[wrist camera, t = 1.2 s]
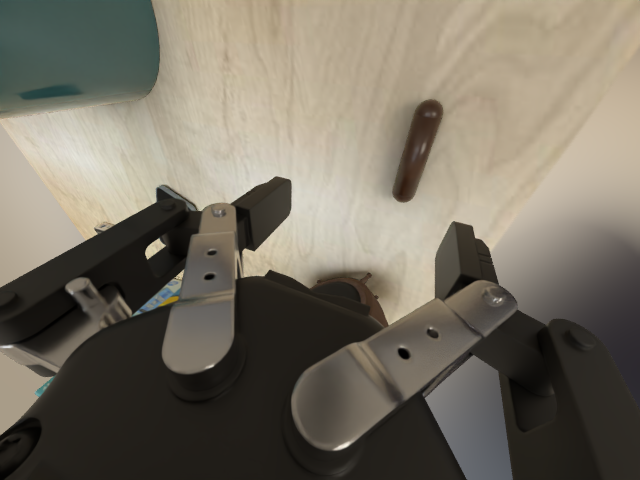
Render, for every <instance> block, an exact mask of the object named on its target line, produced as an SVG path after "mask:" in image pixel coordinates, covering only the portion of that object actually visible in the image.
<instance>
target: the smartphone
mask: <svg viewBox="0 0 640 480" xmlns="http://www.w3.org/2000/svg"><path fill="white" fill-rule="evenodd" d="M172 198H176V199H182V200H184V199H183V198H181V197H180V196H178V195H177V194H175V193H174V192H172V191H171V190H170V189H168V188H167V187H165V186H163V185H161V186H159V187H157V188H156V200H157V202H158V201H161V200H165V199H172ZM184 201H185V202H186V204H187V207H188V210H192V211H196V209H195V207H194V206H193V205H192V204H190V203H189V202H187V201H186V200H184ZM159 239H160V241H161V242H162V243H163V244H164V245H165V242H164V240H163V237H162V236H161V237H160V238H159Z"/></svg>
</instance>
